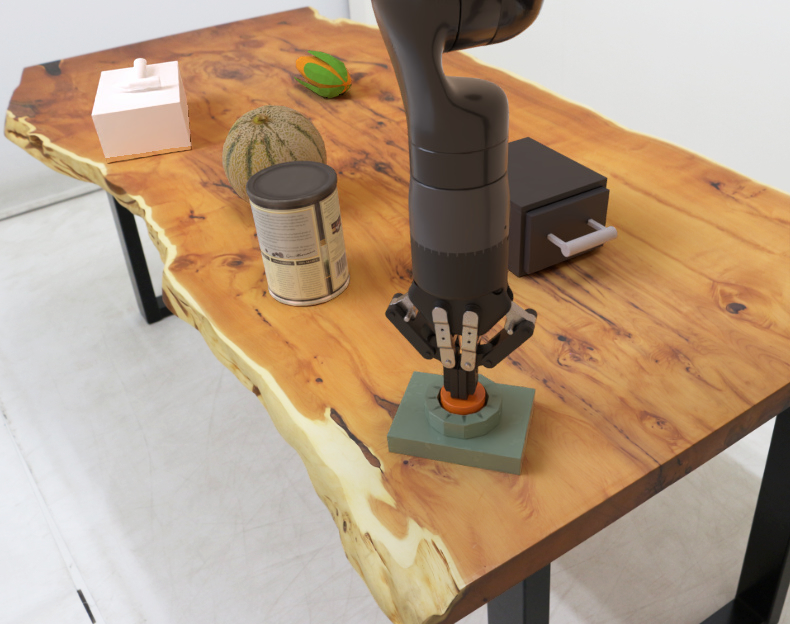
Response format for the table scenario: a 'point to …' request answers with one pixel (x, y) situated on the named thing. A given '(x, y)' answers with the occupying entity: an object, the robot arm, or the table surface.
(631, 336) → the table surface
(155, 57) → the table surface
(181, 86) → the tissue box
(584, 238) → the dark drawer
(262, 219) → the coffee can
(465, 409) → the button
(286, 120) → the cantaloupe
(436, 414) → the control block
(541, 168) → the small drawer cabinet
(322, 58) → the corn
